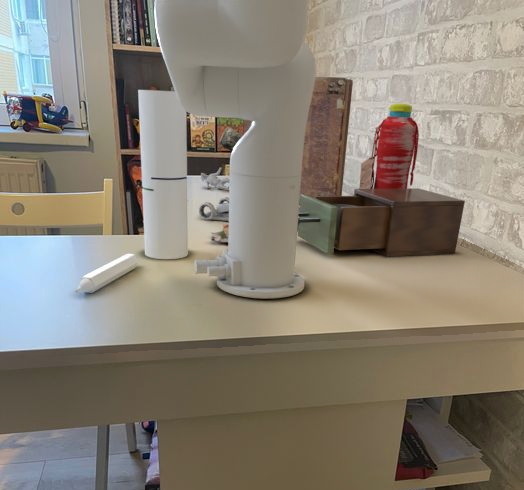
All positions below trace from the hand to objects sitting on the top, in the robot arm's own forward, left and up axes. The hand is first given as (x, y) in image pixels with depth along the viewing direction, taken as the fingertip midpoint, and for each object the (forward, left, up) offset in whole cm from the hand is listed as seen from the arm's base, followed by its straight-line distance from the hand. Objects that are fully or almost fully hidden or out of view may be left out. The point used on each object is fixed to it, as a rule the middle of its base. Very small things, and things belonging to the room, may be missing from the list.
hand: (273, 148), depth 92 cm
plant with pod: (-3, +8, -17) cm, 19 cm away
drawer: (+12, 0, -16) cm, 20 cm away
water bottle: (+32, +17, -17) cm, 40 cm away
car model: (+6, +25, -17) cm, 31 cm away
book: (+24, +49, -17) cm, 57 cm away
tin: (+14, 0, -15) cm, 21 cm away
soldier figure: (+10, +73, -17) cm, 76 cm away
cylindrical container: (-18, +1, -17) cm, 25 cm away
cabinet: (+27, 0, -17) cm, 32 cm away
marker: (-29, -13, -17) cm, 36 cm away
